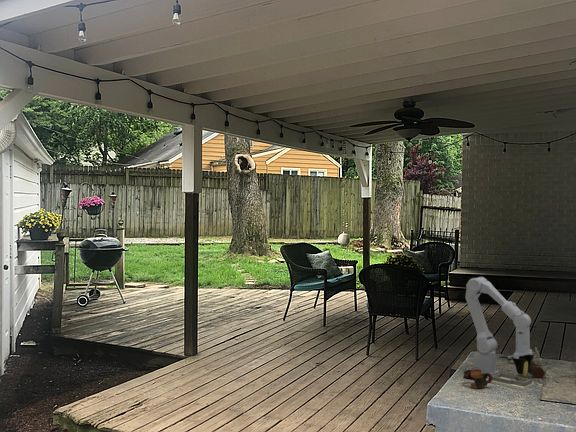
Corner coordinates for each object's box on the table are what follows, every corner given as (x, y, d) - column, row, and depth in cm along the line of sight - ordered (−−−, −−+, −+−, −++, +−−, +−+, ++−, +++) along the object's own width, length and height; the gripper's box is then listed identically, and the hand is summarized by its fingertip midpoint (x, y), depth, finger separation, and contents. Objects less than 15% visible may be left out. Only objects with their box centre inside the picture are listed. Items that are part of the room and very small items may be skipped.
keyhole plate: (488, 382, 234) (488, 376, 234) (500, 377, 242) (500, 371, 242) (522, 389, 223) (522, 383, 223) (533, 384, 231) (533, 378, 231)
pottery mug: (464, 390, 225) (460, 370, 230) (468, 394, 233) (463, 375, 237) (494, 385, 221) (489, 365, 226) (496, 390, 229) (491, 370, 233)
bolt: (531, 373, 255) (540, 381, 240) (521, 368, 256) (529, 375, 241) (538, 363, 255) (547, 370, 240) (528, 357, 256) (536, 364, 241)
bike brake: (540, 358, 273) (498, 361, 280) (538, 345, 273) (496, 348, 280) (543, 365, 260) (499, 368, 267) (540, 351, 260) (497, 354, 267)
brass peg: (516, 378, 240) (516, 360, 240) (520, 377, 242) (520, 359, 243) (525, 380, 237) (525, 362, 237) (529, 378, 240) (529, 360, 240)
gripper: (524, 345, 232) (525, 377, 232) (538, 340, 242) (539, 370, 242) (508, 342, 237) (509, 373, 237) (523, 338, 247) (523, 367, 247)
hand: (523, 372), depth 240 cm, fingers open, 6 cm apart
